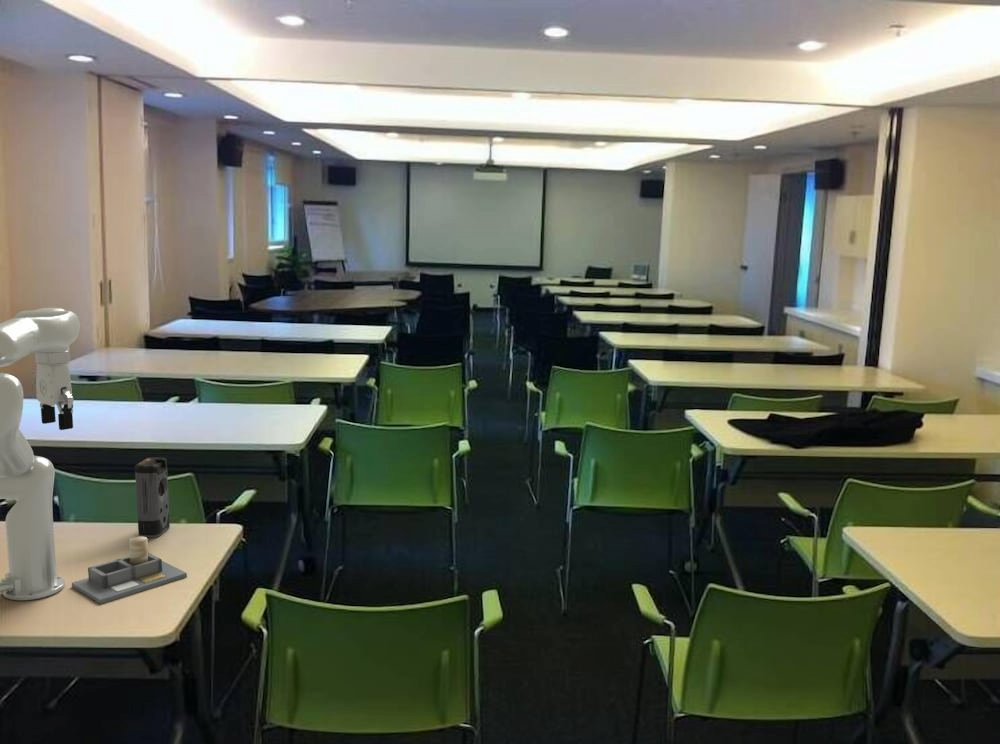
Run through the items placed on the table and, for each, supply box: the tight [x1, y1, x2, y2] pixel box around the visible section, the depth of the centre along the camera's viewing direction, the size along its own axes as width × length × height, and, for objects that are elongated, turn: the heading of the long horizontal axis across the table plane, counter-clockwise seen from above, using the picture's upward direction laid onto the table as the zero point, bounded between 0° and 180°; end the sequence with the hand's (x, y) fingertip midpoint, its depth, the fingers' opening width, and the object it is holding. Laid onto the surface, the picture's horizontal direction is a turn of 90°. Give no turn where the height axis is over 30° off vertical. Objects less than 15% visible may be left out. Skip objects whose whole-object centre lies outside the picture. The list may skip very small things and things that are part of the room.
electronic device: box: [134, 456, 171, 539], centre depth 240 cm, size 9×6×20 cm, turn 179°
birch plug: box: [128, 536, 149, 566], centre depth 211 cm, size 4×4×8 cm
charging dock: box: [71, 552, 188, 605], centre depth 208 cm, size 21×14×4 cm, turn 140°
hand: (57, 425), depth 220 cm, fingers open, 9 cm apart
